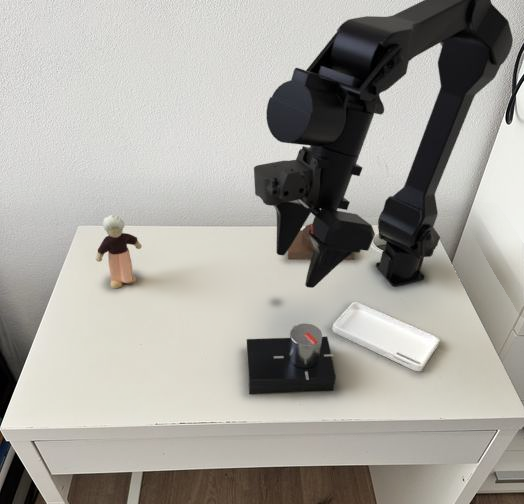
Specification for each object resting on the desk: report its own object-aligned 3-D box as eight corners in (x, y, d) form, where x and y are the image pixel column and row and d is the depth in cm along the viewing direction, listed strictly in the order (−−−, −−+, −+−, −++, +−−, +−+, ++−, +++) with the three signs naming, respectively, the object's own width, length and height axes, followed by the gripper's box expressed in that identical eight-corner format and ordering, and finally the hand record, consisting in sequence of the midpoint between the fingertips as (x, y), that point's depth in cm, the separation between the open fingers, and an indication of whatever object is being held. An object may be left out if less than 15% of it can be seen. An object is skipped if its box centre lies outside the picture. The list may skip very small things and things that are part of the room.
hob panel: (326, 348, 82) (329, 334, 80) (335, 392, 76) (338, 377, 74) (246, 351, 81) (246, 336, 79) (249, 395, 75) (249, 381, 73)
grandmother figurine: (111, 295, 89) (96, 230, 80) (100, 284, 91) (83, 219, 82) (150, 276, 93) (140, 212, 84) (138, 266, 95) (127, 202, 86)
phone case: (438, 344, 83) (353, 306, 89) (441, 338, 82) (354, 300, 88) (419, 373, 79) (330, 331, 84) (421, 367, 78) (331, 325, 83)
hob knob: (282, 353, 77) (283, 329, 73) (306, 341, 78) (309, 317, 75) (300, 372, 74) (303, 348, 71) (325, 360, 76) (329, 336, 73)
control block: (348, 238, 102) (351, 222, 100) (353, 260, 97) (356, 244, 95) (285, 237, 102) (286, 221, 99) (287, 259, 97) (288, 243, 95)
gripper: (244, 112, 65) (214, 233, 72) (310, 158, 51) (265, 301, 59) (321, 132, 70) (286, 242, 77) (401, 179, 56) (348, 308, 64)
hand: (294, 270), depth 69 cm, fingers open, 9 cm apart
